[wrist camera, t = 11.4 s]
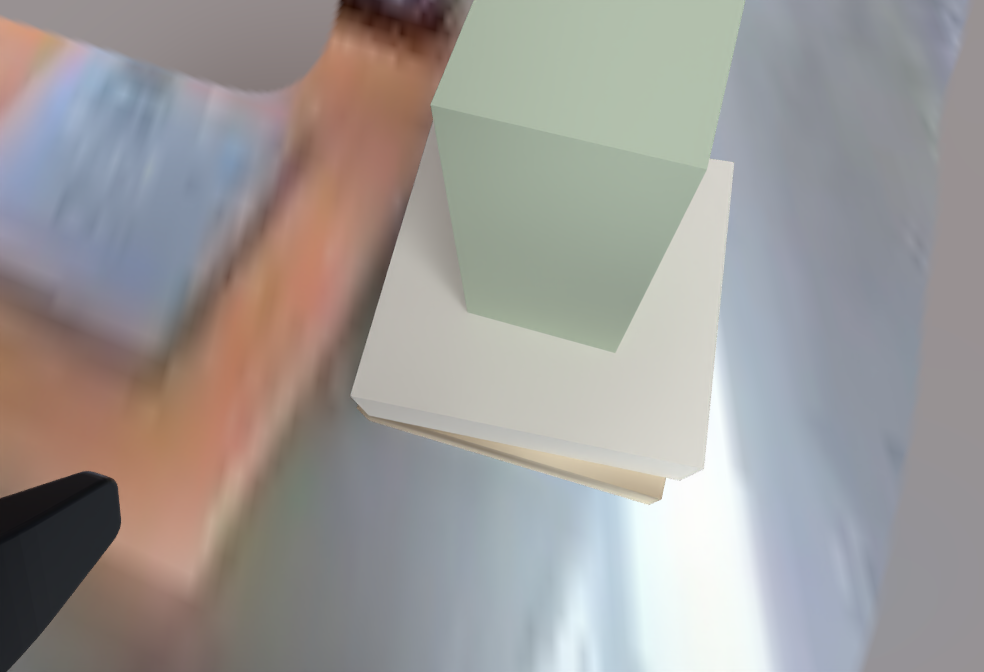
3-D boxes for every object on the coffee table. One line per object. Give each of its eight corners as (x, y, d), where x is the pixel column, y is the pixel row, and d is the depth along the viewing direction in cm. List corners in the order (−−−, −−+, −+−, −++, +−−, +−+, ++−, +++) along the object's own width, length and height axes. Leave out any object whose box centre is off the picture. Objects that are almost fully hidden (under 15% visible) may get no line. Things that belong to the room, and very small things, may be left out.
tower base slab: (645, 506, 21) (661, 499, 19) (372, 424, 23) (356, 407, 20) (699, 255, 25) (718, 222, 22) (458, 196, 26) (452, 159, 24)
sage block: (615, 353, 18) (706, 169, 10) (467, 312, 19) (430, 105, 10) (648, 221, 19) (754, -40, 11) (510, 187, 20) (509, -87, 12)
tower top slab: (680, 480, 19) (703, 468, 17) (368, 415, 20) (349, 395, 18) (711, 204, 22) (733, 162, 20) (442, 160, 23) (434, 115, 21)
